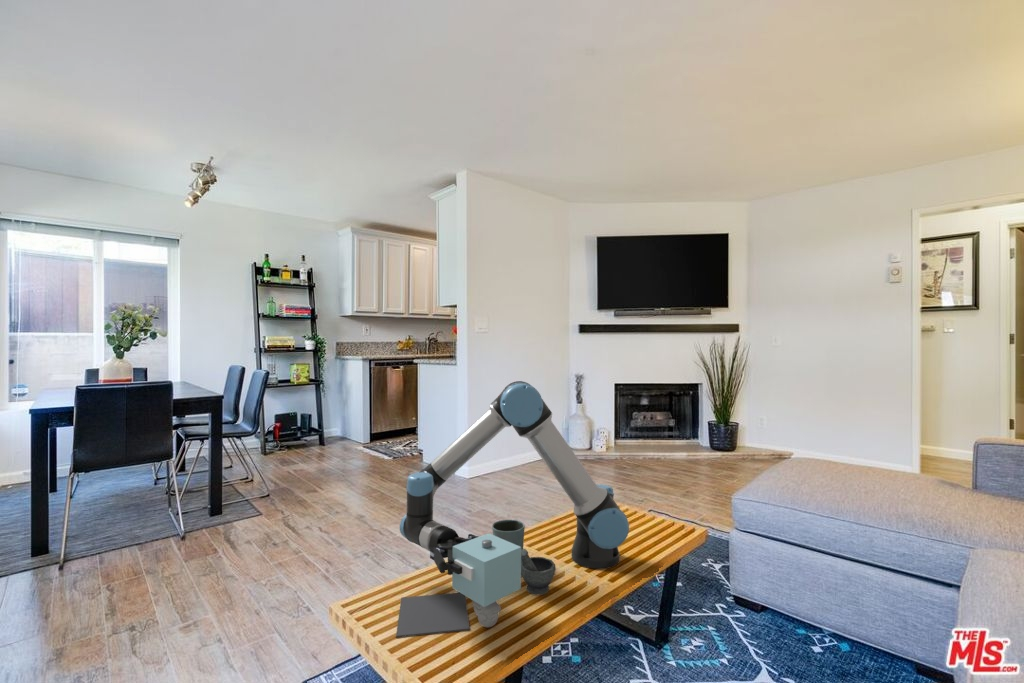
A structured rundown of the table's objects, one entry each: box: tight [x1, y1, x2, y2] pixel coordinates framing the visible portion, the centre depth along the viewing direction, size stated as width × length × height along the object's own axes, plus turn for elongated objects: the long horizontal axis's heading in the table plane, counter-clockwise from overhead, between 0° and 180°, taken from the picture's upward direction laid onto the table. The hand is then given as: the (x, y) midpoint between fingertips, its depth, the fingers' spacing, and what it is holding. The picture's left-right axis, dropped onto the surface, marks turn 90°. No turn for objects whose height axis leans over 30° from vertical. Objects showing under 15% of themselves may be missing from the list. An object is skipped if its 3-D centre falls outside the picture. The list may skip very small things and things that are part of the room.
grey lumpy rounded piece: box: [472, 600, 502, 628], centre depth 112 cm, size 6×7×7 cm
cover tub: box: [451, 533, 522, 607], centre depth 112 cm, size 12×12×11 cm
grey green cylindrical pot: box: [491, 519, 526, 562], centre depth 145 cm, size 10×10×12 cm
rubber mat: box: [395, 592, 470, 638], centre depth 117 cm, size 17×17×1 cm
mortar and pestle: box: [521, 548, 556, 596], centre depth 129 cm, size 11×9×12 cm
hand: (492, 566), depth 111 cm, fingers closed on cover tub, 12 cm apart
